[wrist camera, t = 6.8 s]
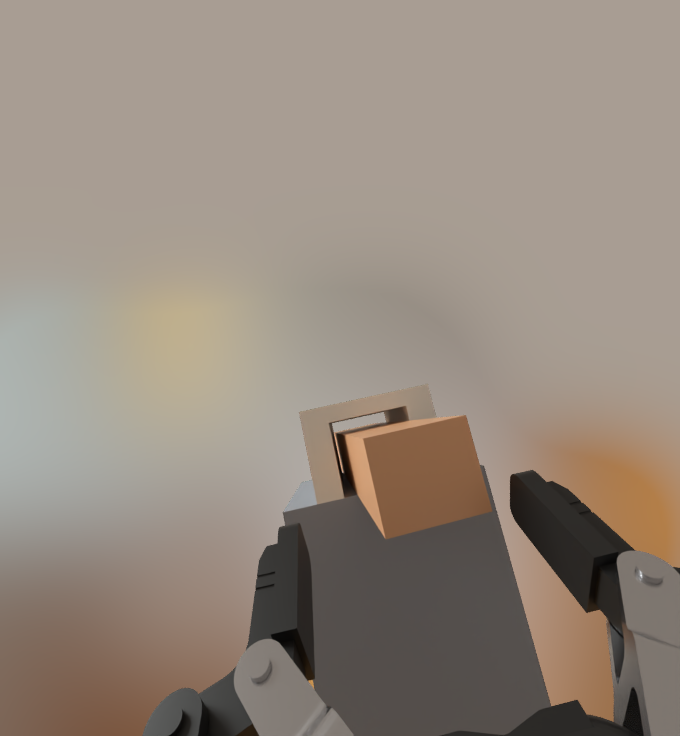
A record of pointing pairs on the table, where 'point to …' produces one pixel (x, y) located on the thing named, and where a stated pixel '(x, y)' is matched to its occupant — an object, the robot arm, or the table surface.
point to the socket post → (410, 603)
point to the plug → (414, 472)
